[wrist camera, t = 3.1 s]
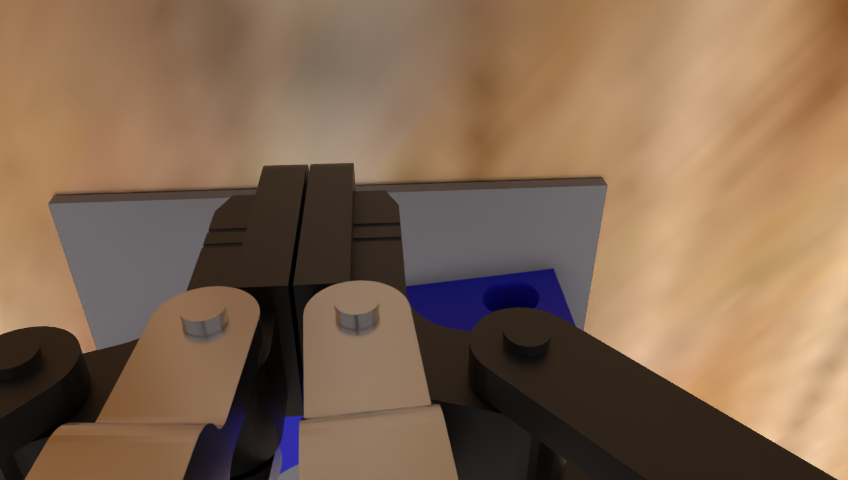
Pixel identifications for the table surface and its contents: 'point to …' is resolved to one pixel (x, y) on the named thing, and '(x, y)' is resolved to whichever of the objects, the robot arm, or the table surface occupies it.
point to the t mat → (418, 203)
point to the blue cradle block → (463, 315)
